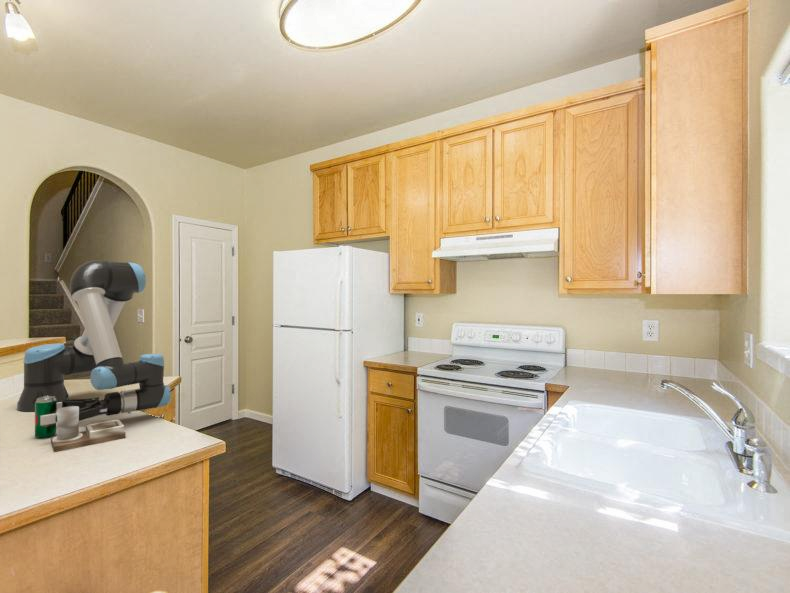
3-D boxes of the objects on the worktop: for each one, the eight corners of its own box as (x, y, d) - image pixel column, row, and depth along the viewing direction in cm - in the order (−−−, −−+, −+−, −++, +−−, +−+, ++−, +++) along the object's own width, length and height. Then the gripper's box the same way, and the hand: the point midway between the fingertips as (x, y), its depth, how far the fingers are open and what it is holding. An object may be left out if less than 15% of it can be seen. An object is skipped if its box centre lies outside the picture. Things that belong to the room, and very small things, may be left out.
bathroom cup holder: (118, 429, 132) (119, 397, 132) (125, 437, 125) (126, 404, 125) (50, 441, 120) (51, 406, 120) (53, 452, 113) (54, 414, 113)
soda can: (43, 439, 122) (44, 400, 122) (30, 438, 123) (30, 399, 123) (60, 434, 127) (61, 396, 126) (47, 432, 128) (48, 394, 128)
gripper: (129, 422, 130) (42, 438, 115) (110, 405, 147) (33, 417, 132) (129, 399, 130) (43, 412, 114) (111, 385, 147) (33, 394, 132)
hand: (37, 415), depth 123 cm, fingers open, 13 cm apart
